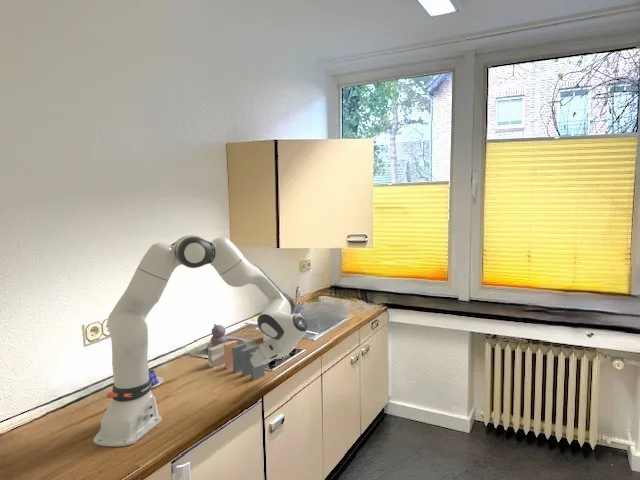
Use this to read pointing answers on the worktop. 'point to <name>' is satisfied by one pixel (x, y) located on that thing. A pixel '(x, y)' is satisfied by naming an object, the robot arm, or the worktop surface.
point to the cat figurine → (218, 335)
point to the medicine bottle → (265, 337)
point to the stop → (216, 355)
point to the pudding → (154, 378)
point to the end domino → (229, 353)
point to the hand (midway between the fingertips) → (265, 362)
